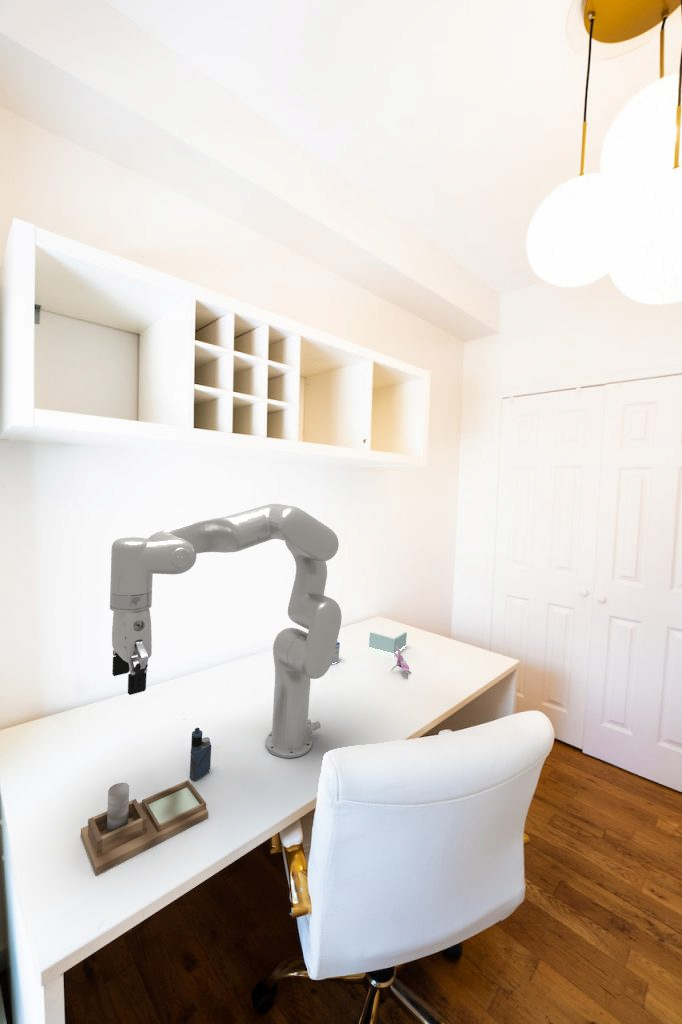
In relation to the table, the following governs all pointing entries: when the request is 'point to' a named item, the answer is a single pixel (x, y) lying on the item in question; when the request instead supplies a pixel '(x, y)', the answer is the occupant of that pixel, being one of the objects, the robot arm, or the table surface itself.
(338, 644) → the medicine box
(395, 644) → the right angle wall
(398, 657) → the lily
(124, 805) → the holder
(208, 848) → the table surface
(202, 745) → the vaping device
